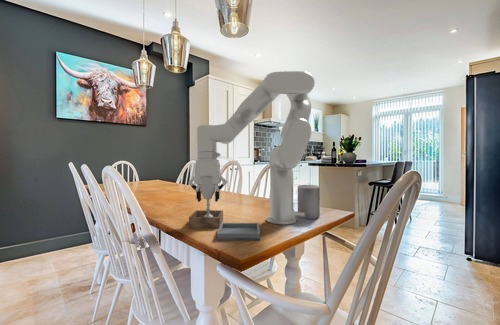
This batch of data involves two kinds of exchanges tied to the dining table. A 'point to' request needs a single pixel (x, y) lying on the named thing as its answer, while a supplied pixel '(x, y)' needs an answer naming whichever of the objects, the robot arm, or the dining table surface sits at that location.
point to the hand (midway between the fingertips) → (208, 200)
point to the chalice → (207, 192)
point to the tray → (238, 231)
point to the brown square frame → (206, 219)
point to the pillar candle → (309, 201)
